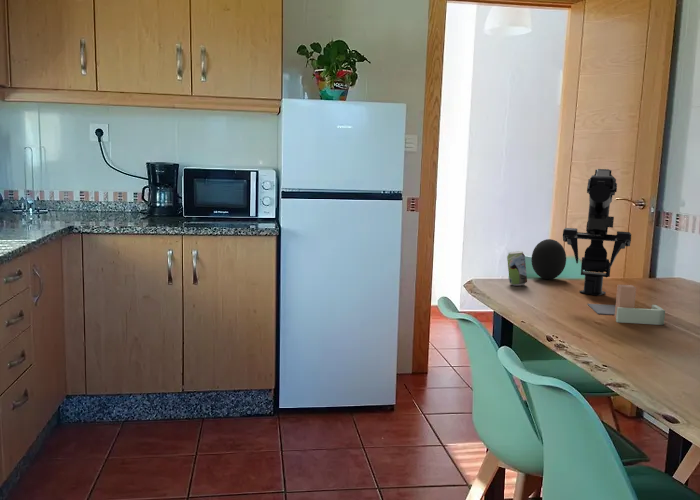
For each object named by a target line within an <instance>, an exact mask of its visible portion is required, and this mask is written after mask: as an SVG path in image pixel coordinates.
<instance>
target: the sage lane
mask: <svg viewBox="0 0 700 500" xmlns="http://www.w3.org/2000/svg"><path fill="white" fill-rule="evenodd" d="M665 315H666V310H665V309H663V308H662V307H660V306H659V305H658V304H651V307H650V308H641V307H640V308H637V307H636V308H635V307H634V308H623V307H617V315H616V318H615V322H616V323H623V324H641V325H643V324H644V325H657V326H659V325H660V326H664V325H665V317H666V316H665Z"/></svg>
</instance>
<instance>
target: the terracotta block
mask: <svg viewBox="0 0 700 500" xmlns="http://www.w3.org/2000/svg"><path fill="white" fill-rule="evenodd" d="M636 294H637V287H636V286H634V285H632V284H617V286H616V295H615V297H616V298H615V305H616V306H615V315H614V318H615V319H616V315H617V307H623V308H635V306H636V296H637V295H636Z"/></svg>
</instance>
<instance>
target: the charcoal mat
mask: <svg viewBox="0 0 700 500" xmlns="http://www.w3.org/2000/svg"><path fill="white" fill-rule="evenodd" d="M587 306H589V308H590V309H592V310H593V312H594V313H596V314H597V315H603V316H604V315H605V316H615V306H616V304H599V303H587Z"/></svg>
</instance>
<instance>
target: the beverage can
mask: <svg viewBox="0 0 700 500" xmlns="http://www.w3.org/2000/svg"><path fill="white" fill-rule="evenodd" d="M506 258H507V269H508V270H507V271H508V279H509V280H508V281H509V284H510V285H512V286H524V285H526V283H528V276H527V275H528V274H527V265H526V263H527V262H526V255H525V254H524V252H523V251H519V250H518V251H517V250H516V251H511V252H508V255H507V257H506Z"/></svg>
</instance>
